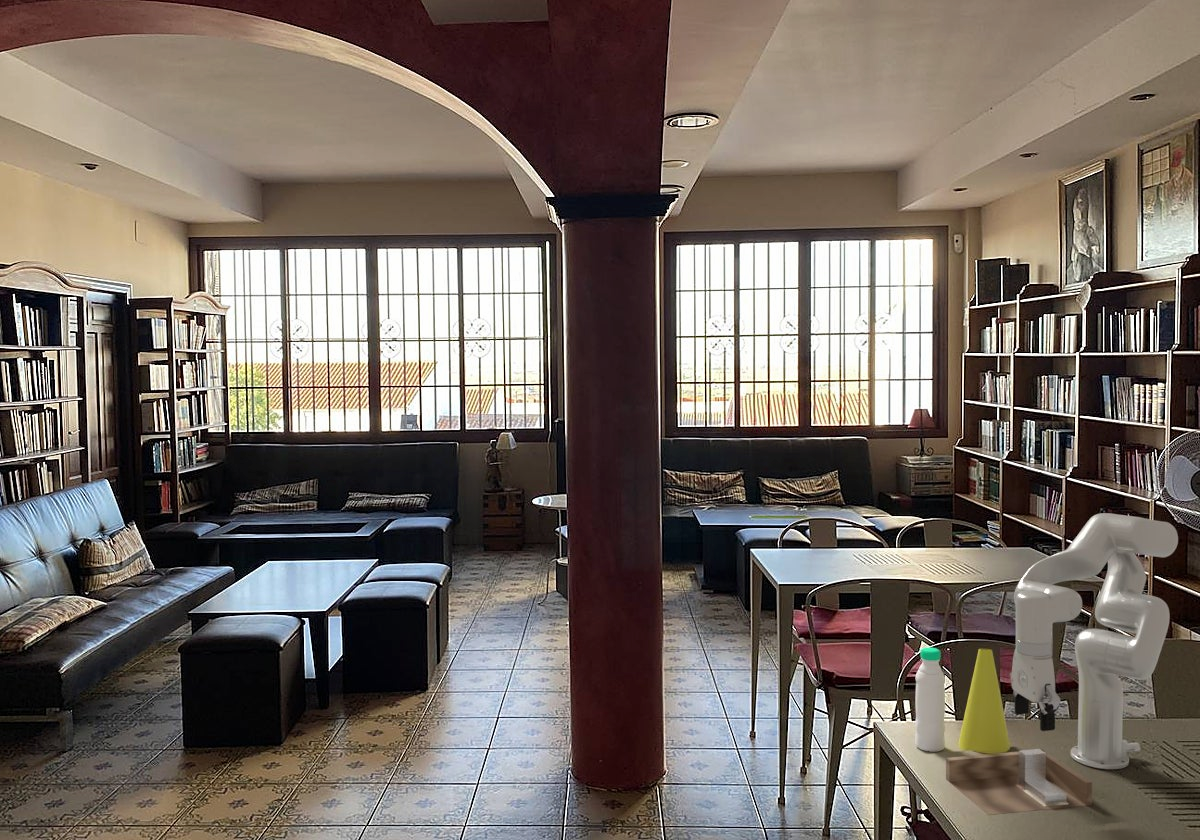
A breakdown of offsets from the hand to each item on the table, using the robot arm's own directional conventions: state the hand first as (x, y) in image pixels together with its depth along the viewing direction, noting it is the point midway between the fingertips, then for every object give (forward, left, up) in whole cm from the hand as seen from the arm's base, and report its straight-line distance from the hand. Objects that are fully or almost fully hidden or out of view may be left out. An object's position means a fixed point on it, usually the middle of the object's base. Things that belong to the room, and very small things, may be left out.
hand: (1034, 721), depth 223 cm
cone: (-2, -24, -16) cm, 29 cm away
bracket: (+1, +4, -15) cm, 15 cm away
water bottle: (+11, -27, -16) cm, 34 cm away
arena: (+5, +2, -16) cm, 17 cm away
